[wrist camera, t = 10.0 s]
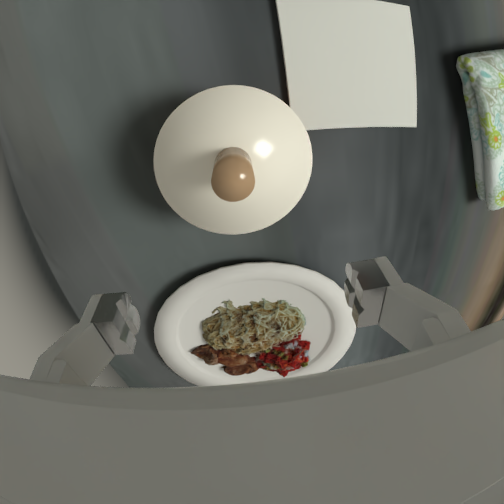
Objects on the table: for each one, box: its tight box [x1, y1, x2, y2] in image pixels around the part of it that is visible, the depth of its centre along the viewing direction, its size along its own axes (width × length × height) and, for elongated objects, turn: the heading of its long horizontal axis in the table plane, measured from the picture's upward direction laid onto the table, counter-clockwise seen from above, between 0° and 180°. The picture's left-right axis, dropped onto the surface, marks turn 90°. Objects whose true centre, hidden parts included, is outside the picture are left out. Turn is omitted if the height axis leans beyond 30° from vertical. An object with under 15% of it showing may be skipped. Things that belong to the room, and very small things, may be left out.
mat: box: [275, 0, 417, 130], centre depth 23 cm, size 14×14×1 cm
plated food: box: [154, 262, 356, 387], centre depth 43 cm, size 30×30×3 cm
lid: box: [153, 85, 312, 234], centre depth 22 cm, size 13×13×5 cm
